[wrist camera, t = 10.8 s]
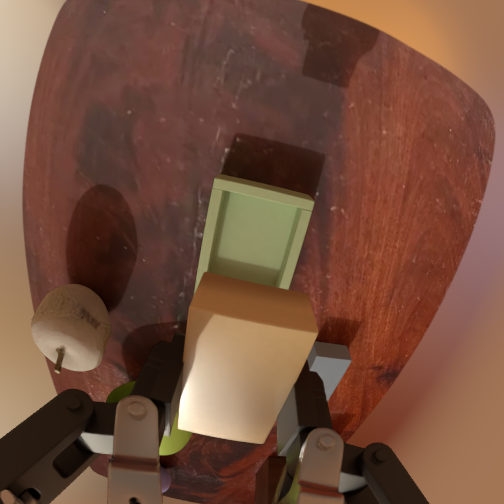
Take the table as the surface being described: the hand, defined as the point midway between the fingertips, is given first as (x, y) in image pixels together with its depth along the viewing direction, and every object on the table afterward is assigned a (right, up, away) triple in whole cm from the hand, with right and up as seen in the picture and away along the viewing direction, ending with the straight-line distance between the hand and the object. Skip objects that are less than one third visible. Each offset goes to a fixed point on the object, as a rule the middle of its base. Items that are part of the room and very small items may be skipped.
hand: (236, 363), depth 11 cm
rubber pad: (+8, -8, +19) cm, 22 cm away
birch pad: (0, 0, +1) cm, 1 cm away
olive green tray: (+1, +5, +14) cm, 15 cm away
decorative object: (-17, -1, +17) cm, 25 cm away
